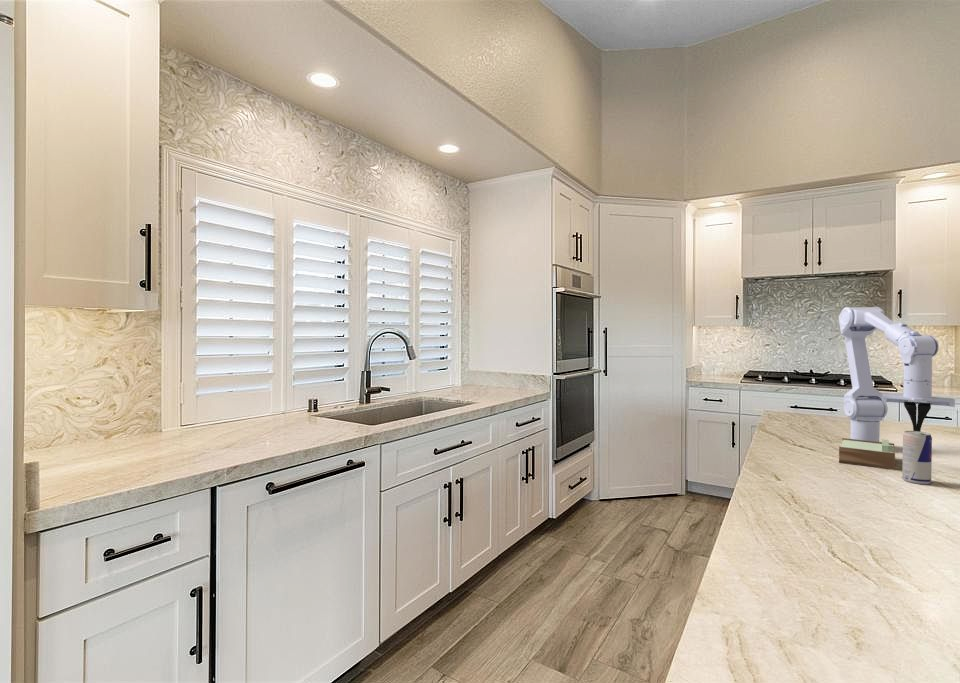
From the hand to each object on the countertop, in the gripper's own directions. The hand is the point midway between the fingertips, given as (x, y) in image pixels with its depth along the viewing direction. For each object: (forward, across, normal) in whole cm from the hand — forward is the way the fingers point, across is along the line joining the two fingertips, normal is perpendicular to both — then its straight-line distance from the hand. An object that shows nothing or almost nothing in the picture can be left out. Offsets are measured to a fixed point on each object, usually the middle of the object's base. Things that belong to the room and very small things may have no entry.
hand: (916, 430), depth 134 cm
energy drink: (+10, 0, -16) cm, 19 cm away
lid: (+6, -10, 0) cm, 12 cm away
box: (+10, -10, 0) cm, 14 cm away
